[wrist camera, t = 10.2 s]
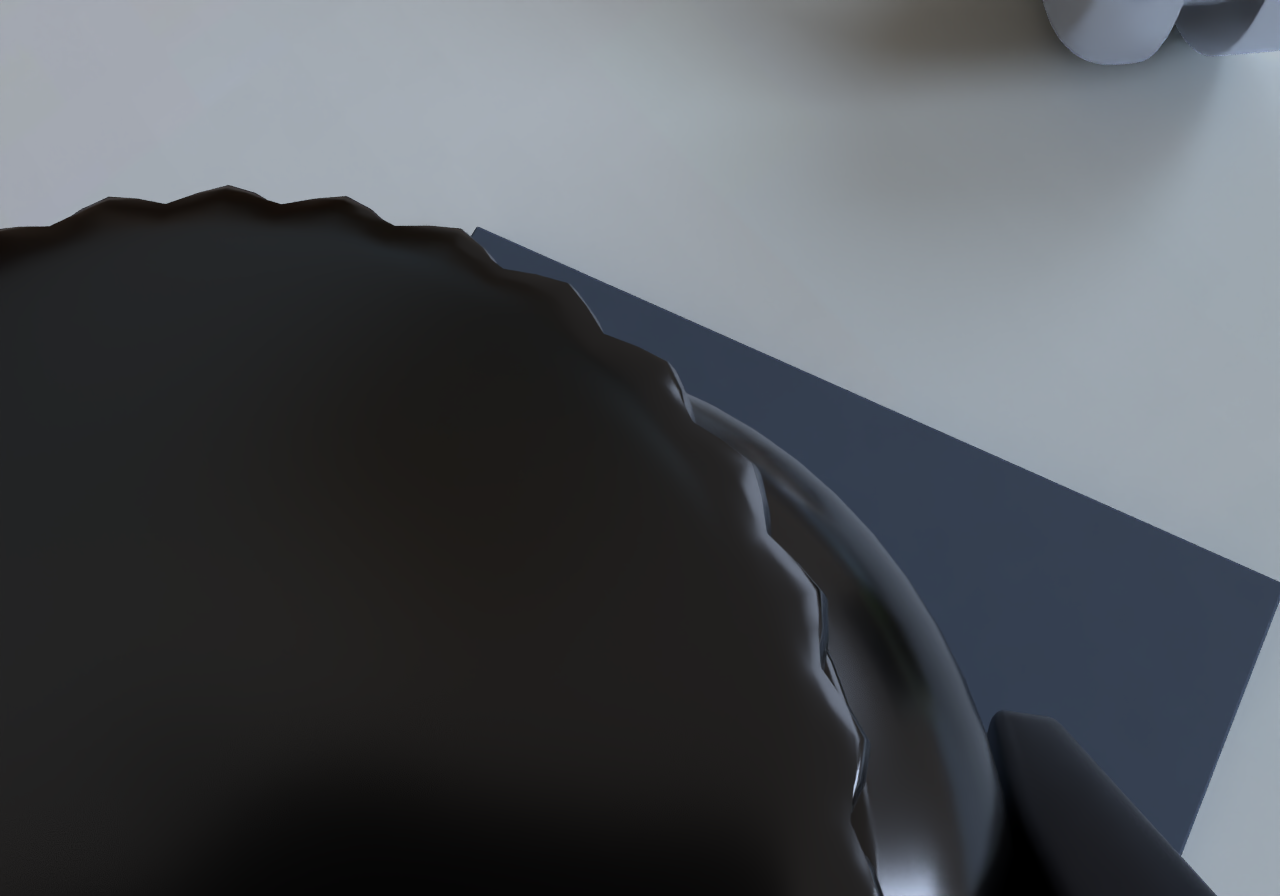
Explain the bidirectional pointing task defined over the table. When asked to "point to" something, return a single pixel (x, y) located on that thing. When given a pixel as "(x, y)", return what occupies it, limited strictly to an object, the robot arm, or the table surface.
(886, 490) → the rubber mat
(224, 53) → the table surface
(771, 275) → the table surface
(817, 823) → the supplement bottle
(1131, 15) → the metal grooved wheel
